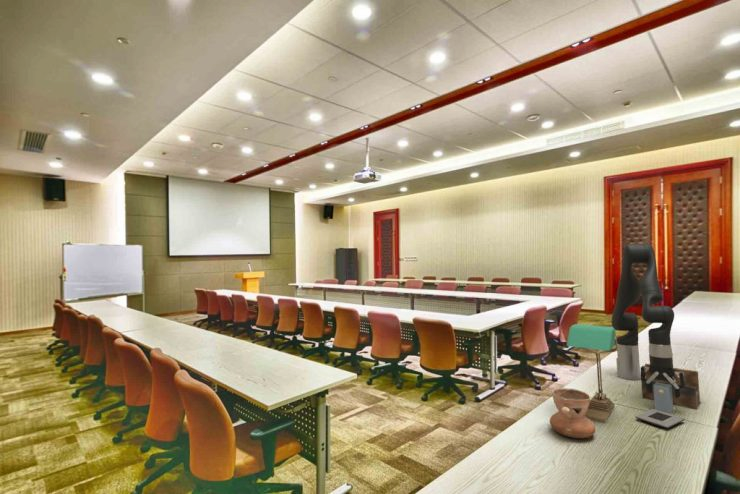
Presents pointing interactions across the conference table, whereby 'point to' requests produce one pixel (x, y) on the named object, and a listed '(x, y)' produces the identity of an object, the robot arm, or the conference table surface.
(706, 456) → the conference table surface
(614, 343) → the banker's lamp
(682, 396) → the board
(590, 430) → the ceramic jug
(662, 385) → the cabinet block
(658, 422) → the electrical outlet
